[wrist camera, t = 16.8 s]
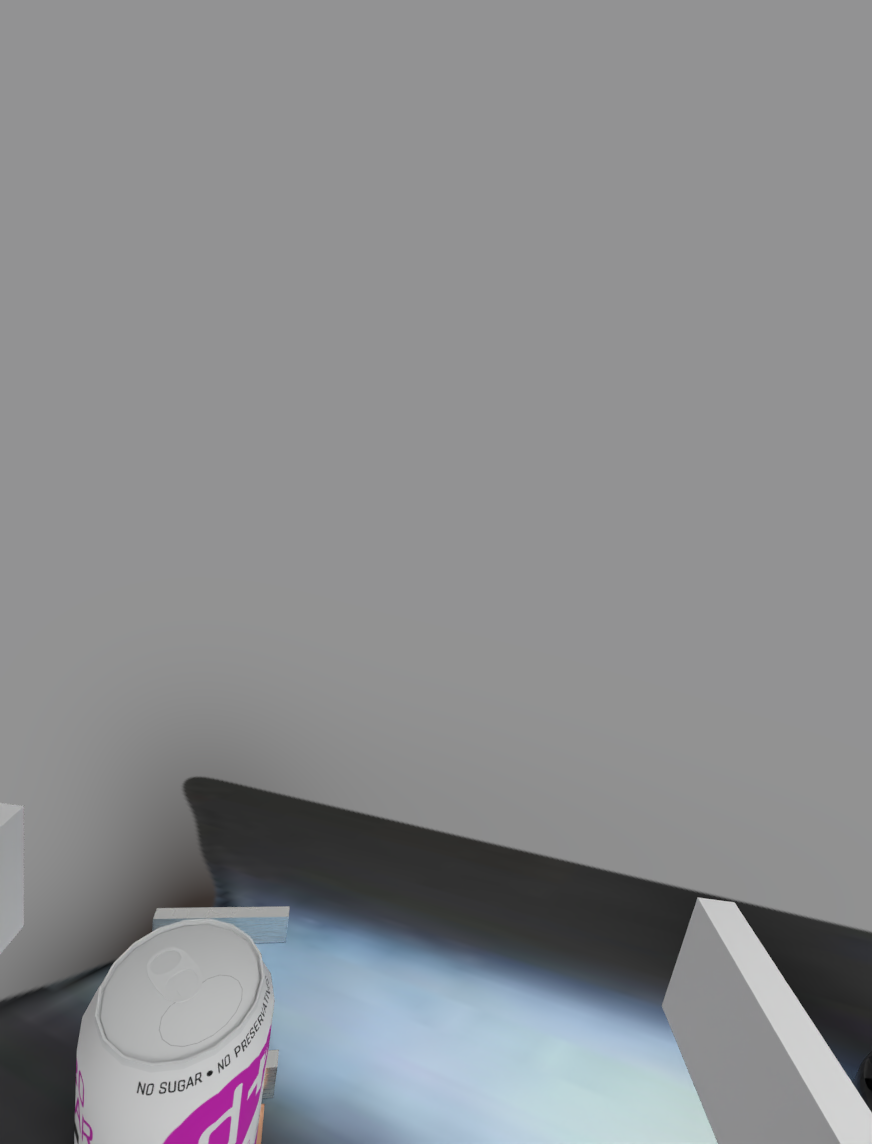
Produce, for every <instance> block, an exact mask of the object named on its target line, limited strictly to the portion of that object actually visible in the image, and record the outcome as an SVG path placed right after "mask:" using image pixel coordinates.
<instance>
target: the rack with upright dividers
mask: <svg viewBox="0 0 872 1144" xmlns="http://www.w3.org/2000/svg"><path fill="white" fill-rule="evenodd" d="M288 918H289V907H208V908H157V910H156V912H155V916H154V918H153V930H152V932H153V931H154V930H156V929H158V928H160V927H163V926H167V925H170V924H173V923H176V922H179V921H183V920H192V919H214V920H218V921H222V922H226V923H229V924H233V925H234V926H236V927H237V928H239V929H240V930H242V931H243V932H244V933H246V934H247V935H249V936H250V937H251V939H252V940H253V942H254V943H275V942H285V941H286V934H287V926H288ZM278 1051H279V1050H268V1055H267V1063H266V1071H265V1079H264V1086H263V1094H262V1098H273V1095H274V1088H275V1080H276V1073H277V1065H278ZM263 1115H264V1104H261V1109H260V1117H259V1125H258V1133H257V1140H256V1144H261V1137H262V1126H263Z"/></svg>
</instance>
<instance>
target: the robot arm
mask: <svg viewBox="0 0 872 1144" xmlns="http://www.w3.org/2000/svg"><path fill="white" fill-rule="evenodd" d="M23 926H24V806H20V805H13V804H5V803H0V954H1V953H2V952H3V951H4V949H5V948H6V947H7V946H8V944H9V943H10V942H11V941H12V940H13V938H14V937H15V936H16V935H17V934H18V932H19V931H20V930H21V929H22V927H23ZM662 1007H663V1010H664V1012H665V1015H666V1017H667V1020H668V1022H669V1025H670V1027H671V1030H672V1032H673V1034H674V1037H675V1039H676V1042H677V1044H678V1047H679V1049H680V1052H681V1054H682V1057H683V1059H684V1061H685V1064H686V1066H687V1069H688V1071H689V1074H690V1076H691V1079H692V1081H693V1084H694V1086H695V1088H696V1091H697V1093H698V1096H699V1098H700V1101H701V1103H702V1106H703V1108H704V1111H705V1113H706V1115H707V1118H708V1120H709V1123H710V1125H711V1128H712V1130H713V1133H714V1135H715V1138H716V1140H717V1142H718V1144H872V1052H871V1053H870V1054H869V1055H868V1056H867V1057H866V1058H865V1059H864V1061H863V1062H862V1064H861V1066H860V1068H859V1070H858V1072H857V1074H856V1077H855V1079H854V1081H853V1083H852V1082H851V1080H850V1079H849V1077H848V1076H847V1074H846V1073H845V1071H844V1069H843V1068H842V1066H841V1065H840V1063H839V1062H838V1060H837V1059H836V1057H835V1056H834V1054H833V1053H832V1051H831V1050H830V1048H829V1046H828V1045H827V1043H826V1042H825V1040H824V1039H823V1037H822V1036H821V1034H820V1033H819V1031H818V1030H817V1028H816V1027H815V1025H814V1023H813V1022H812V1020H811V1019H810V1017H809V1016H808V1014H807V1013H806V1011H805V1010H804V1008H803V1007H802V1005H801V1004H800V1002H799V1001H798V999H797V997H796V996H795V994H794V993H793V991H792V990H791V988H790V987H789V985H788V984H787V982H786V981H785V979H784V978H783V976H782V974H781V973H780V971H779V970H778V968H777V967H776V965H775V964H774V962H773V961H772V959H771V958H770V956H769V955H768V953H767V952H766V950H765V948H764V947H763V945H762V944H761V942H760V941H759V939H758V938H757V936H756V935H755V933H754V932H753V930H752V929H751V927H750V925H749V924H748V922H747V921H746V919H745V918H744V916H743V915H742V913H741V912H740V910H739V909H738V907H737V906H736V904H735V903H734V902H727V901H720V900H712V899H705V898H697V901H696V904H695V907H694V910H693V913H692V916H691V919H690V922H689V925H688V928H687V931H686V934H685V937H684V940H683V943H682V946H681V949H680V952H679V955H678V959H677V962H676V965H675V968H674V971H673V974H672V977H671V980H670V983H669V986H668V989H667V992H666V995H665V998H664V1001H663V1004H662Z"/></svg>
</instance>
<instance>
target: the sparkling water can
mask: <svg viewBox="0 0 872 1144" xmlns="http://www.w3.org/2000/svg"><path fill="white" fill-rule="evenodd" d="M274 1001H275V1000H274V993H273V986H272V979H271V974H270V972H269V970H268V969H267V967H266V965H265V964H264V962H263V961H262V956H261V953H260V951H259V950H258V948H257V947H256V945H255V943H254V942H253V940H252V939H251V937H250V936H249V935H247V934H246V933H244V932H243V931H242V930H240V929H239V928H237V927H236V926H234V925H233V924H229V923H226V922H222V921H218V920H214V919H192V920H183V921H179V922H176V923H173V924H170V925H167V926H163V927H160V928H158V929H156V930H154V931H153V932H151V933H149V934H148V935H146V936H144V937H143V938H141V939H139V940H138V941H136V942H134V943H133V944H132V945H131V946H130V947H129V948H128V949H127V950H126V951H125V952H124V953H123V954H122V955H121V956H120V957H119V958H118V959H117V960H116V961H115V962H114V963H113V965H112V966H111V968H110V970H109V972H108V974H107V975H106V977H105V979H104V981H103V982H102V984H101V985H100V986H99V988H98V990H97V991H96V993H95V995H94V997H93V999H92V1001H91V1002H90V1004H89V1006H88V1008H87V1010H86V1011H85V1013H84V1015H83V1017H82V1022H81V1028H80V1034H79V1040H78V1046H77V1061H76V1096H75V1131H74V1144H256V1140H257V1133H258V1125H259V1117H260V1109H261V1102H262V1094H263V1086H264V1079H265V1071H266V1063H267V1055H268V1048H269V1040H270V1032H271V1025H272V1017H273V1009H274Z"/></svg>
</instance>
